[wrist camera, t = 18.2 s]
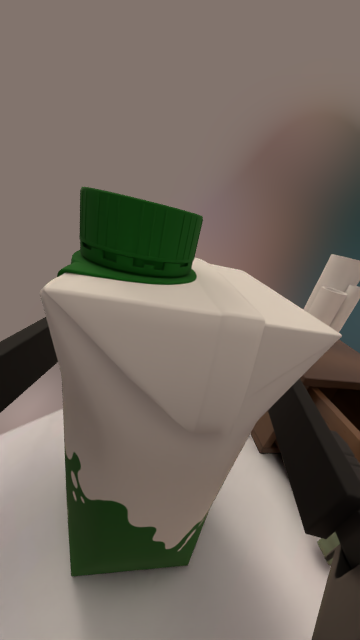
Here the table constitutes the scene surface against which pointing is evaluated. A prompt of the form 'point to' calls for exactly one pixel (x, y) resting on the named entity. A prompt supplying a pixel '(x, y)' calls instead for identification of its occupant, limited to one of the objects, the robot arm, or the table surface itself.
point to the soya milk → (160, 378)
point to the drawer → (338, 430)
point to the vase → (335, 292)
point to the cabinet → (328, 371)
